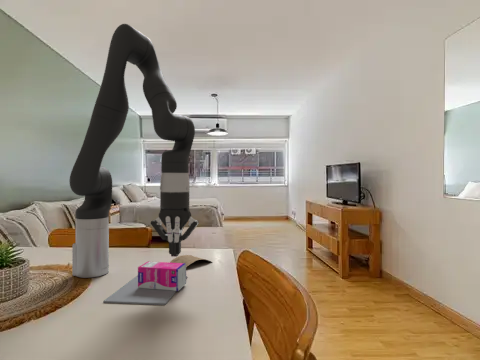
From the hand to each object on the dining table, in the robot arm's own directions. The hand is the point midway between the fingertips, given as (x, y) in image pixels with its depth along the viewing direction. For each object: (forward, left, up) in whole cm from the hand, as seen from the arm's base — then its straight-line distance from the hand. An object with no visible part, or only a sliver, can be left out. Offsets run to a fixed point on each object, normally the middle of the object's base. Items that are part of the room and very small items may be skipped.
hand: (174, 255), depth 82 cm
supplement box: (+2, 0, -6) cm, 6 cm away
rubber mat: (-7, 0, -9) cm, 11 cm away
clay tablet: (-2, +25, -10) cm, 27 cm away
